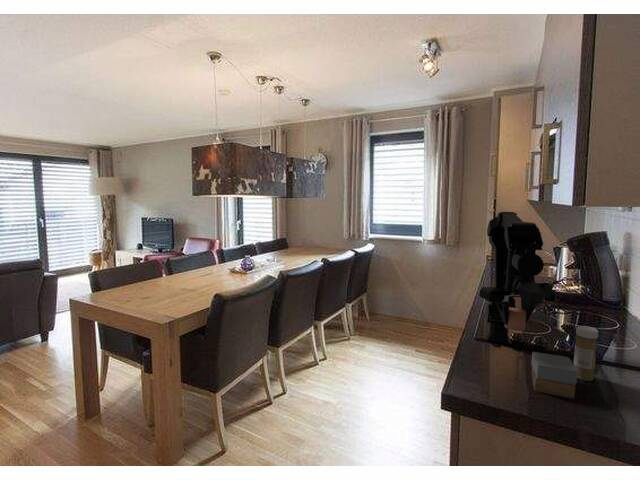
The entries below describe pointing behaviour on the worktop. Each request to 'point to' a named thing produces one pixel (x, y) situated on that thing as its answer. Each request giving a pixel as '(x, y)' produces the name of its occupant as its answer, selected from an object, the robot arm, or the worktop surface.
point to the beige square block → (553, 387)
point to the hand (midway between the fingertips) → (514, 324)
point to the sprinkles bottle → (585, 352)
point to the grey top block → (554, 368)
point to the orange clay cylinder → (516, 319)
